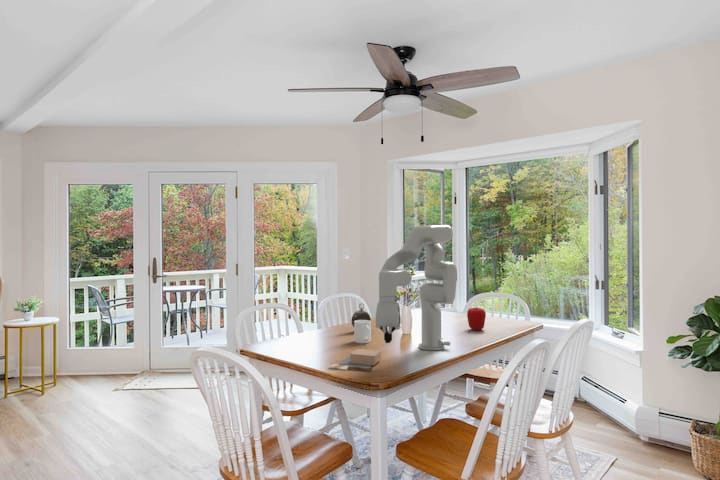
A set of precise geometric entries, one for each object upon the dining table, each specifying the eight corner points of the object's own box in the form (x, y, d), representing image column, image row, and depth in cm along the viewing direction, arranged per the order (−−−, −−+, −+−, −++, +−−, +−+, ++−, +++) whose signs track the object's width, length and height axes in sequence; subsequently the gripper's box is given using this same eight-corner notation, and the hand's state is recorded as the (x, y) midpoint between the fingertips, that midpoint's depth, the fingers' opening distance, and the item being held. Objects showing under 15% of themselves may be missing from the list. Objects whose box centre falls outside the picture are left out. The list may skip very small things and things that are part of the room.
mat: (379, 359, 204) (379, 358, 204) (370, 367, 191) (370, 366, 191) (350, 356, 208) (350, 355, 208) (338, 364, 195) (338, 363, 195)
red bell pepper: (463, 329, 268) (463, 306, 268) (477, 327, 273) (477, 304, 273) (475, 332, 259) (475, 308, 259) (489, 330, 263) (489, 307, 263)
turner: (373, 369, 188) (373, 366, 188) (369, 372, 184) (369, 369, 184) (333, 365, 194) (333, 362, 194) (328, 368, 190) (328, 365, 190)
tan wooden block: (380, 350, 201) (357, 348, 205) (374, 355, 192) (350, 353, 196) (380, 359, 201) (357, 357, 205) (374, 365, 192) (350, 363, 196)
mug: (361, 345, 229) (361, 324, 228) (351, 341, 239) (351, 320, 239) (376, 344, 232) (376, 323, 232) (366, 339, 243) (366, 319, 243)
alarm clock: (367, 329, 268) (367, 302, 268) (372, 331, 263) (372, 303, 263) (351, 331, 262) (350, 303, 262) (355, 333, 258) (355, 304, 257)
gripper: (407, 299, 196) (407, 341, 196) (373, 297, 201) (374, 339, 201) (402, 301, 189) (402, 345, 189) (368, 300, 194) (368, 343, 194)
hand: (388, 342), depth 195 cm, fingers closed
